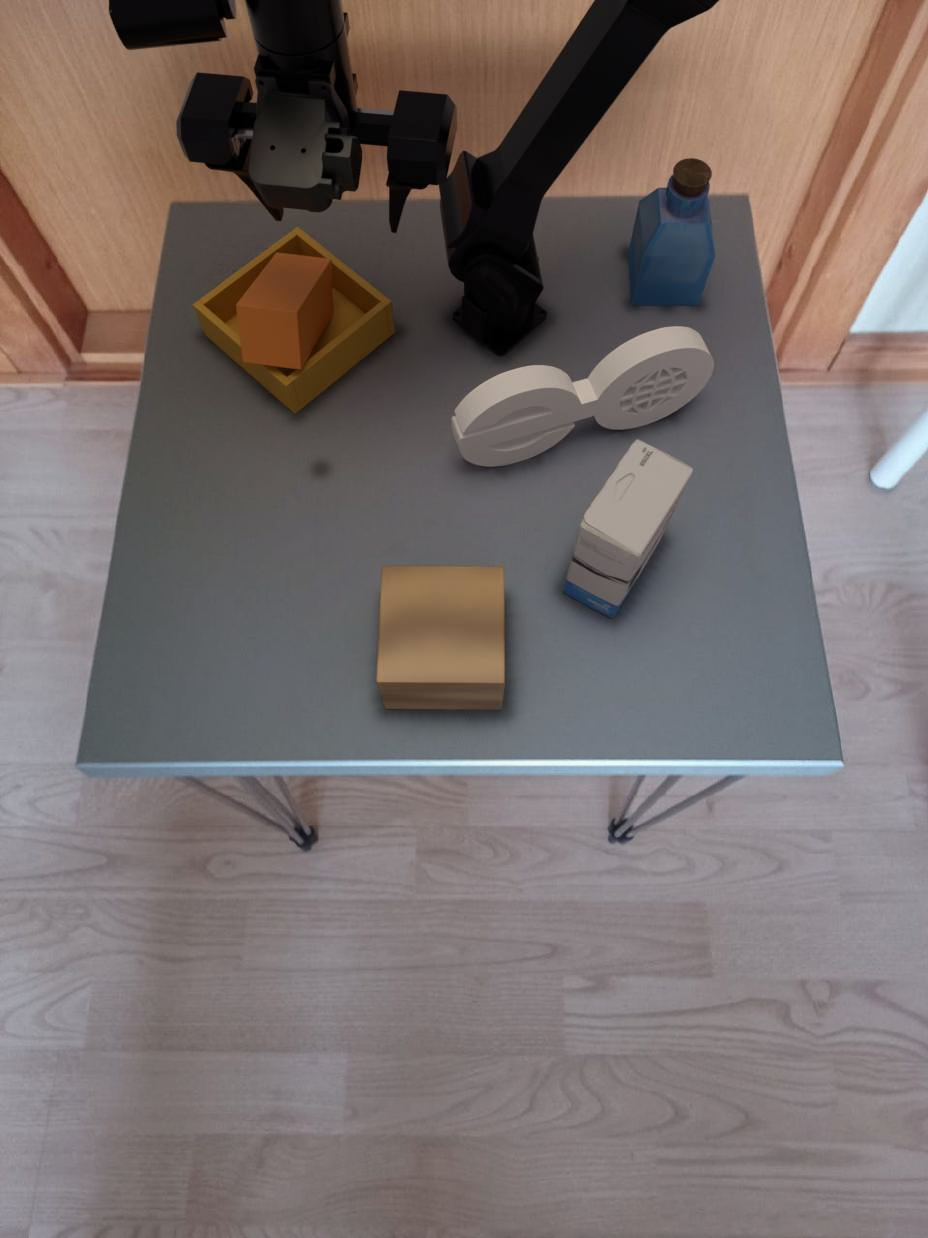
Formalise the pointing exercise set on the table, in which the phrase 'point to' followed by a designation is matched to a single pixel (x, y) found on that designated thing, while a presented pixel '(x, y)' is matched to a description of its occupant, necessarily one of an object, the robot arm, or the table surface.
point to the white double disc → (581, 397)
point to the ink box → (624, 527)
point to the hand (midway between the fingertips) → (337, 222)
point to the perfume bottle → (673, 240)
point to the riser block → (441, 637)
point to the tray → (341, 344)
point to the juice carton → (285, 310)
